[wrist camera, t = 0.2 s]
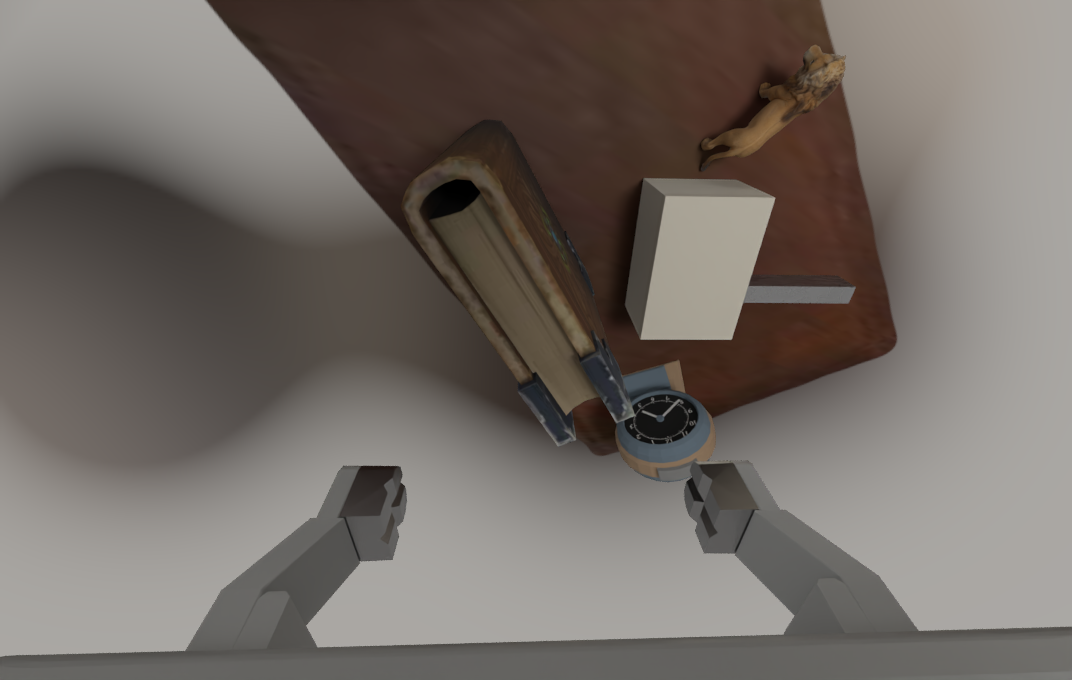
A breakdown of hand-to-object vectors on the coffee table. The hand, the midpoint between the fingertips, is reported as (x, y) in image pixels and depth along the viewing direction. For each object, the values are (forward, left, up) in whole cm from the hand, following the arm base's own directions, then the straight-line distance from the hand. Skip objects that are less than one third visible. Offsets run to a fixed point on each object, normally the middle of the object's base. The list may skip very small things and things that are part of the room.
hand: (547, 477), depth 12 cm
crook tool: (+12, +36, -48) cm, 61 cm away
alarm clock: (+35, +21, -48) cm, 63 cm away
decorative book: (+5, 0, -48) cm, 48 cm away
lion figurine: (-7, +26, -48) cm, 55 cm away
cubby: (+10, +21, -48) cm, 53 cm away
